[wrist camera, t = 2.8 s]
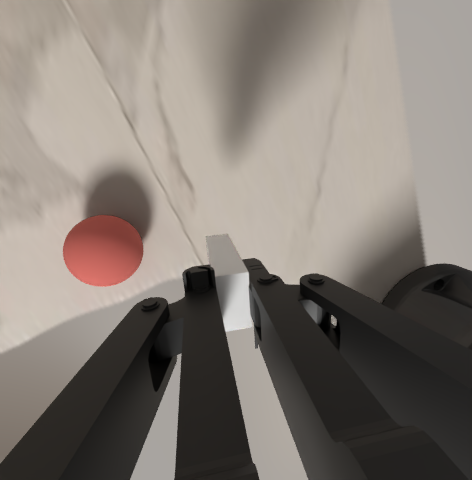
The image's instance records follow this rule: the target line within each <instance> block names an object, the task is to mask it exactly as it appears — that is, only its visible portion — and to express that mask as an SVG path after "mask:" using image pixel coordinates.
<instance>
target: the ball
mask: <svg viewBox="0 0 472 480" xmlns="http://www.w3.org/2000/svg"><path fill="white" fill-rule="evenodd" d="M63 257H64V261H65V264H66V266H67V268H68V269H69V271H70V272H71V273H72V274H73V275H74V276H75V277H76V278H77V279H79V280H80V281H82V282H84V283H86V284H89V285H93V286H111V285H115V284H118V283H121V282H123V281H125V280H126V279H128V278H129V277H130V276H132V275H133V274H134V272H135V271H136V270H137V269H138V267H139V265H140V263H141V261H142V257H143V243H142V240H141V237H140V235H139V233H138V232H137V230H136V229H135V228H134V227H133V226H132V225H131V224H129V223H128V222H127V221H125V220H123V219H121V218H118V217H115V216H109V215H99V216H93V217H90V218H87V219H85V220H83V221H81V222H80V223H78V224H77V225H75V226H74V227H73V228H72V230H71V231H70V232H69V233H68V235H67V237H66V239H65V242H64V246H63Z"/></svg>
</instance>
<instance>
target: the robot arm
mask: <svg viewBox="0 0 472 480" xmlns="http://www.w3.org/2000/svg"><path fill="white" fill-rule="evenodd" d="M206 245H207V254H208V262H209V265H203V266H195V267H191V268H189V269H187V270H185V271H184V272H183V274H182V275H183V282H184V288H185V297H184V298H183V299H181V300H179V301H177V302H175V303H172V304H169V305H168V302H167V300H166V299H164V298H160V297H155V298H148V299H144V300H143V301H141V302H139V303H137V304H136V305H135V306H134V307H133V308H132V309H131V310H130V312H129V313H128V314H127V315H126V316H125V317H124V319H123V320H122V321H121V322H120V323H119V324H118V326H117V327H116V328H115V329H114V330H113V332H112V333H111V334H110V335H109V336H108V337H107V339H106V340H105V341H104V342H103V343H102V344H101V346H100V347H99V348H98V349H97V350H96V352H95V353H94V354H93V355H92V356H91V357H90V359H89V360H88V361H87V362H86V363H85V365H84V366H83V367H82V368H81V369H80V370H79V372H78V373H77V374H76V375H75V376H74V377H73V379H72V380H71V381H70V382H69V383H68V385H67V386H66V387H65V388H64V389H63V391H62V392H61V393H60V394H59V395H58V396H57V398H56V399H55V400H54V401H53V402H52V403H51V405H50V406H49V407H48V408H47V409H46V411H45V412H44V413H43V414H42V415H41V417H40V418H39V419H38V420H37V421H36V422H35V423H34V425H33V426H32V427H31V428H30V429H29V431H28V432H27V433H26V434H25V435H24V436H23V438H22V439H21V440H20V441H19V442H18V444H17V445H16V446H15V447H14V448H13V449H12V451H11V452H10V453H9V454H8V455H7V457H6V458H5V459H4V460H3V461H2V462H1V464H0V480H130V478H131V475H132V473H133V470H134V468H135V465H136V463H137V460H138V458H139V455H140V453H141V450H142V448H143V445H144V442H145V440H146V438H147V435H148V432H149V430H150V427H151V425H152V422H153V420H154V417H155V415H156V412H157V410H158V407H159V405H160V402H161V400H162V397H163V395H164V392H165V390H166V387H167V385H168V382H169V379H170V377H171V374H172V372H173V369H174V366H175V364H176V362H177V355H178V354H180V353H182V356H181V375H180V394H179V413H178V430H177V449H176V468H175V479H174V480H259V477H258V473H257V469H256V466H255V464H254V463H253V462H252V458H251V454H250V449H249V444H248V439H247V434H246V429H245V424H244V419H243V415H242V410H241V405H240V400H239V395H238V390H237V386H236V381H235V376H234V371H233V366H232V361H231V357H230V352H229V347H228V342H227V337H226V333H225V332H226V331H232V330H238V329H244V328H251V327H252V320H253V322H254V334H255V348H258V345H259V347H260V350H261V353H262V355H263V358H264V361H265V363H266V366H267V368H268V371H269V374H270V377H271V380H272V382H273V385H274V388H275V390H276V393H277V395H278V398H279V401H280V404H281V407H282V409H283V412H284V414H285V417H286V420H287V423H288V425H289V428H290V431H291V434H292V436H293V439H294V442H295V444H296V447H297V450H298V452H299V455H300V458H301V460H302V463H303V466H304V469H305V471H306V474H307V477H308V479H309V480H472V271H470V270H467V269H464V268H462V267H459V266H456V265H452V264H434V265H430V266H426V267H424V268H421V269H419V270H417V271H415V272H413V273H411V274H410V275H408V276H407V277H405V278H404V279H403V280H402V281H400V282H399V283H398V284H397V285H396V286H395V287H394V288H393V289H392V290H391V292H390V293H389V294H388V296H387V297H386V299H385V300H384V302H383V304H380V303H378V302H376V301H374V300H372V299H370V298H368V297H366V296H364V295H362V294H361V293H359V292H357V291H355V290H353V289H351V288H349V287H347V286H345V285H343V284H341V283H339V282H337V281H335V280H333V279H331V278H329V277H327V276H324V275H319V274H308V275H304V276H302V277H301V278H300V285H288V284H285V283H284V282H283V281H282V279H281V278H280V277H278V276H276V275H273V274H269V272H268V271H267V270H266V268H265V267H264V265H263V264H262V263H261V261H259V260H257V259H255V258H251V259H243V260H242V259H241V257H240V255H239V254H238V252H237V250H236V248H235V246H234V244H233V242H232V241H231V239H230V237H229V235H228V234H223V235H214V236H206ZM331 315H333V316H334V317H335V318H336V319H337V325H336V326H334V325H333V324H332V323H331ZM251 317H252V318H251Z"/></svg>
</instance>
